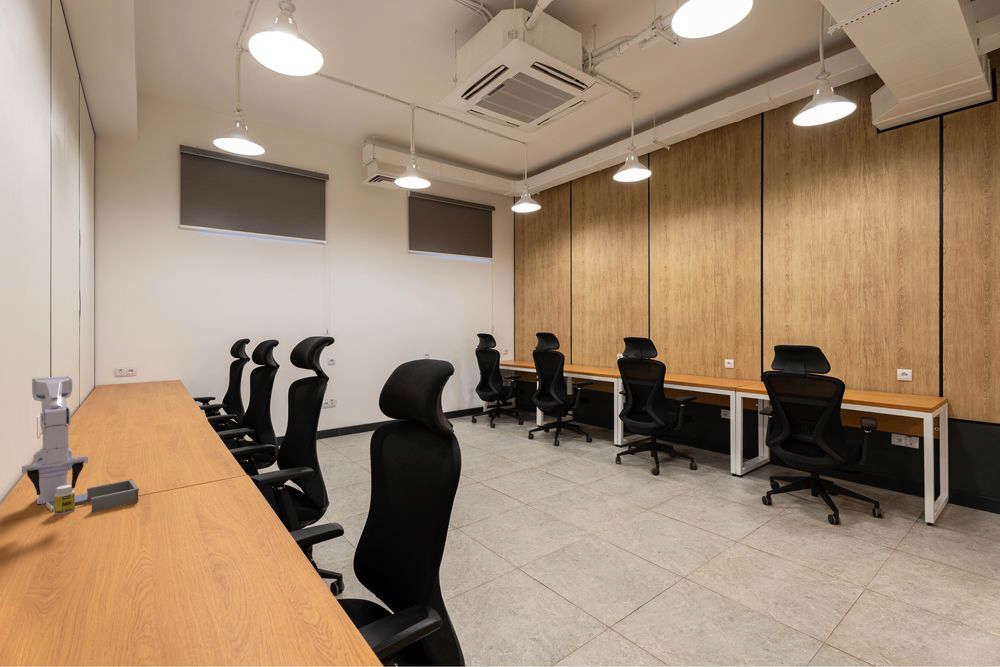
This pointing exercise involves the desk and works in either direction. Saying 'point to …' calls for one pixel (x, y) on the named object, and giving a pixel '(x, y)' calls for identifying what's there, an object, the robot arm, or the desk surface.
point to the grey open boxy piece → (112, 495)
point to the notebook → (78, 500)
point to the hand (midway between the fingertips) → (56, 490)
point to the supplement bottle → (64, 499)
